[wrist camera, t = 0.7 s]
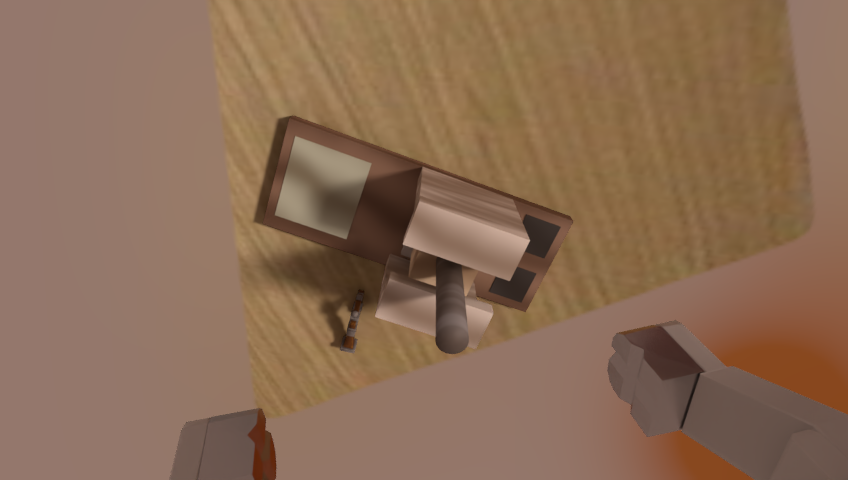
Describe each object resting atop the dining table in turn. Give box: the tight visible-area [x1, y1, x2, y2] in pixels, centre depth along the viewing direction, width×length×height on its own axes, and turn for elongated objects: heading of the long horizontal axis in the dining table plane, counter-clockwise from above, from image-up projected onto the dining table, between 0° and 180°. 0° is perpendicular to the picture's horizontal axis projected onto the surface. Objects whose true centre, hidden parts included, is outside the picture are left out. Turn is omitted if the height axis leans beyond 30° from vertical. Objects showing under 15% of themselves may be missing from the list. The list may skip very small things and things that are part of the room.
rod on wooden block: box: [401, 245, 479, 354], centre depth 44 cm, size 7×8×19 cm
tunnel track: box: [263, 116, 573, 349], centre depth 49 cm, size 12×31×12 cm, turn 70°
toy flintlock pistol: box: [340, 290, 364, 353], centre depth 59 cm, size 2×8×4 cm, turn 166°
